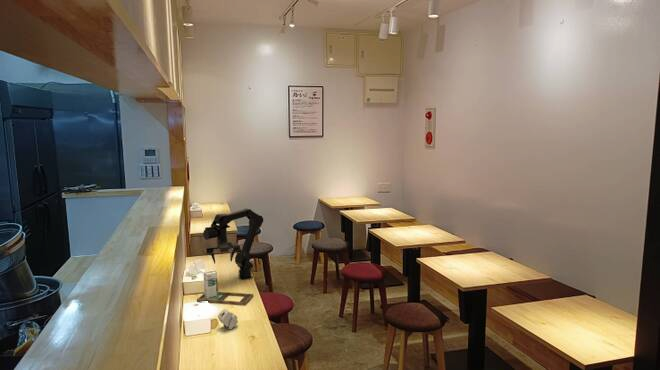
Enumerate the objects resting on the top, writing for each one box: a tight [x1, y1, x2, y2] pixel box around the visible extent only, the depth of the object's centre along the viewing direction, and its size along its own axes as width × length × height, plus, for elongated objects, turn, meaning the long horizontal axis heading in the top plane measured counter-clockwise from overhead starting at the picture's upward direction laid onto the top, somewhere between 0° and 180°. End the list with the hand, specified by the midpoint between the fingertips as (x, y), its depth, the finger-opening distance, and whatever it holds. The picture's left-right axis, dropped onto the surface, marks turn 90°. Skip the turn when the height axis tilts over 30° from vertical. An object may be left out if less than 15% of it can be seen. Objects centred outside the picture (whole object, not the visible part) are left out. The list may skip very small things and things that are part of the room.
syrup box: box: [202, 269, 219, 299], centre depth 234 cm, size 6×6×14 cm
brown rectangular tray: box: [196, 291, 255, 306], centre depth 233 cm, size 27×12×2 cm, turn 79°
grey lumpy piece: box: [217, 308, 239, 330], centre depth 200 cm, size 6×7×10 cm
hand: (222, 262), depth 253 cm, fingers open, 9 cm apart
